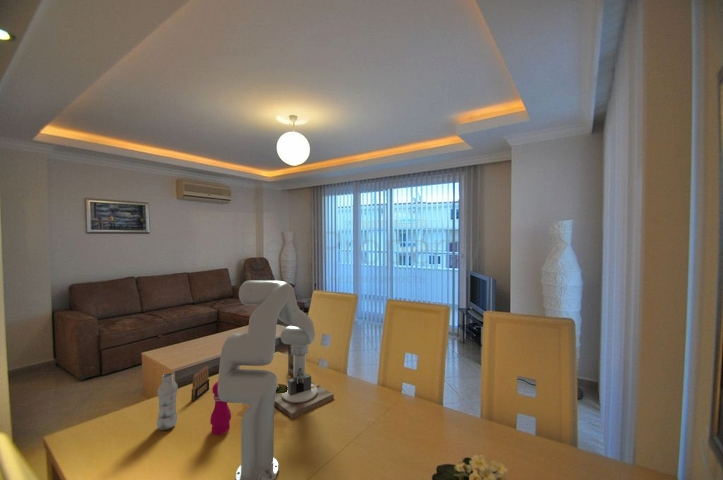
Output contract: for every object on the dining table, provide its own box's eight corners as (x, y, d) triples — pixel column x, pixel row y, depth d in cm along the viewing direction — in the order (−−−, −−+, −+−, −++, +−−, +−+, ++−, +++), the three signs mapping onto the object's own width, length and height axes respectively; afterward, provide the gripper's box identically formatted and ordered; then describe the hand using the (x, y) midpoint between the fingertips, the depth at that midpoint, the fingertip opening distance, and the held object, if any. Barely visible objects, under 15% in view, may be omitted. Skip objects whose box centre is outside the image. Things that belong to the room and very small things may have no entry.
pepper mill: (222, 437, 108) (223, 382, 108) (205, 434, 110) (206, 380, 110) (235, 425, 115) (235, 373, 116) (218, 422, 117) (219, 372, 117)
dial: (289, 406, 124) (290, 390, 124) (276, 391, 137) (276, 375, 137) (323, 395, 134) (323, 379, 134) (307, 381, 147) (308, 367, 147)
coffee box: (287, 370, 164) (287, 341, 164) (298, 367, 168) (298, 339, 168) (294, 376, 157) (294, 346, 157) (305, 373, 161) (305, 343, 161)
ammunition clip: (205, 389, 143) (205, 364, 143) (209, 389, 143) (209, 364, 143) (191, 400, 133) (191, 374, 133) (195, 401, 132) (195, 374, 133)
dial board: (333, 398, 136) (333, 393, 136) (291, 418, 120) (291, 412, 120) (305, 382, 151) (305, 377, 151) (265, 398, 135) (265, 393, 135)
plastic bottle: (152, 429, 112) (153, 377, 112) (171, 420, 118) (171, 370, 118) (162, 434, 109) (163, 380, 109) (181, 424, 115) (181, 373, 115)
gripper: (291, 343, 143) (291, 378, 143) (291, 357, 126) (291, 397, 126) (307, 342, 145) (307, 377, 145) (309, 355, 128) (309, 395, 128)
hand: (299, 386), depth 135 cm, fingers open, 9 cm apart
